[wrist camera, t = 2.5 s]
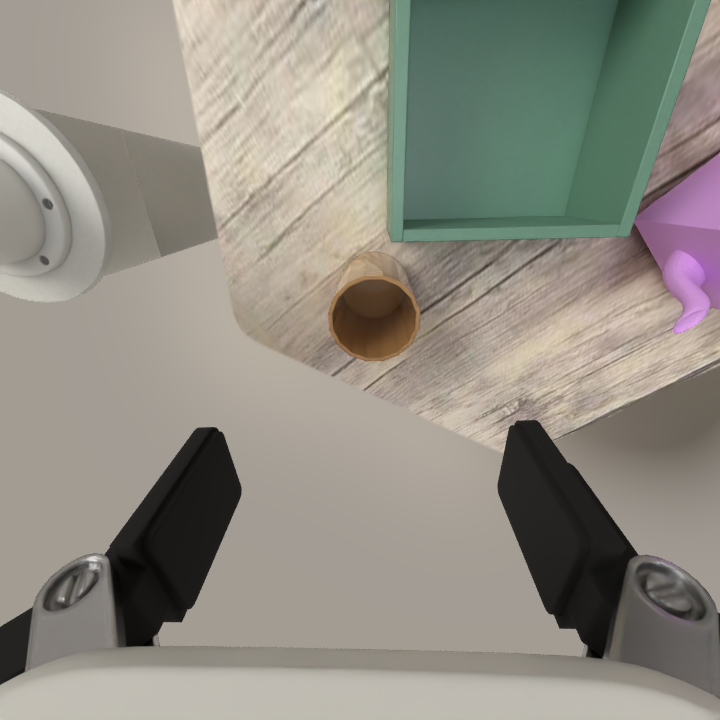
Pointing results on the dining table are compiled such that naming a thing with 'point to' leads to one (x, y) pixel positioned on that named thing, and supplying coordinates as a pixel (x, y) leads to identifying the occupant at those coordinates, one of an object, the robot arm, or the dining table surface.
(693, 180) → the teapot
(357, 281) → the paper cup
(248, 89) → the dining table surface
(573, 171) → the bin
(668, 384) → the dining table surface
